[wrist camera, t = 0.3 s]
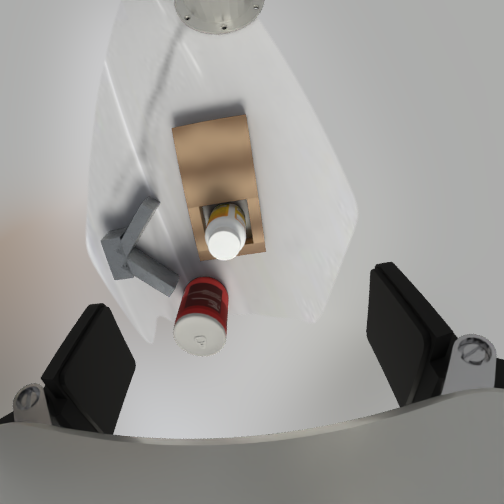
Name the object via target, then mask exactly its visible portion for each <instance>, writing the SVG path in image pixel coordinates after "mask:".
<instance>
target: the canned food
mask: <svg viewBox="0 0 504 504" xmlns="http://www.w3.org/2000/svg"><path fill="white" fill-rule="evenodd" d="M227 315H228V294H227V291H226V289H225V288H224V286H223V285H222V284H221V283H220V282H219V281H217V280H216V279H213V278H210V277H199V278H196V279H194V280H192V281H191V282H190V283H189V284H188V285H187V286H186V288H185V291H184V294H183V297H182V300H181V304H180V307H179V311H178V314H177V317H176V321H175V325H174V331H173V335H174V339H175V341H176V343H177V345H178V346H179V347H180V348H181V349H183V350H184V351H186V352H187V353H189V354H192V355H195V356H202V357H203V356H211V355H214V354H216V353H218V352H219V351H220V350H221V349H222V348H223V347H224V345H225V342H226V334H227Z"/></svg>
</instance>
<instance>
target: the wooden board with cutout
mask: <svg viewBox="0 0 504 504" xmlns="http://www.w3.org/2000/svg"><path fill="white" fill-rule="evenodd" d="M172 133H173V138H174V144H175V149H176V154H177V159H178V164H179V169H180V174H181V179H182V184H183V188H184V193H185V198H186V202H187V207H188V211H189V216H190V220H191V225H192V229H193V233H194V237H195V242H196V246H197V250H198V254H199V258H200V261H204V260H211V259H217V258H215V257H214V256H212V254H211V253H210V252H209V249H208V246H207V244H206V240H205V231H206V223H205V218H204V213H203V208H202V206H206V205H212V204H218V203H224V202H231V201H237V200H244V199H247V203H248V210H249V216H250V222H251V229H252V235H253V237H249V238H246V241H245V244H244V246H243V247H242V249H241V250H240V251H239V253H238V254H237V255H236V256H240V255H247V254H254V253H261V252H266V248H265V241H264V234H263V227H262V220H261V213H260V206H259V199H258V192H257V185H256V178H255V171H254V164H253V158H252V151H251V144H250V138H249V131H248V125H247V118H246V115H239V116H232V117H226V118H220V119H215V120H209V121H204V122H199V123H194V124H189V125H184V126H180V127H175V128H172Z"/></svg>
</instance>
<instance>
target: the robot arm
mask: <svg viewBox="0 0 504 504" xmlns="http://www.w3.org/2000/svg"><path fill="white" fill-rule="evenodd" d="M263 4H264V0H175V8H176V12H177V14H178V16H179V17H180V19H181V20H182V21H183V22H184V23H185V24H186V25H187V26H189V27H190V28H192V29H194V30H196V31H199V32H202V33H207V34H225V33H230V32H234V31H237V30H239V29H241V28H244V27H245V26H247V25H248V24H250V23H251V22H252V21H253V20H254V19H256V18H257V16H258V15H259V13H260V12H261V10H262V7H263ZM254 8H258V9H254ZM188 18H190V19H189V20H187V19H188ZM224 27H225V28H226V29H225V30H223V28H224ZM368 306H369V307H368V319H367V330H366V332H367V338H368V341H369V343H370V345H371V346H372V349H373V351H374V353H375V355H376V357H377V359H378V361H379V363H380V365H381V367H382V369H383V371H384V374H385V376H386V378H387V380H388V382H389V384H390V386H391V388H392V391H393V393H394V395H395V397H396V399H397V401H398V404H399V406H400V408H397V409H393V410H390V411H386V412H383V413H379V414H375V415H371V416H367V417H363V418H358V419H354V420H350V421H346V422H341V423H337V424H332V425H327V426H322V427H316V428H311V429H305V430H298V431H292V432H284V433H277V434H268V435H259V436H248V437H234V438H214V439H165V438H164V439H163V438H162V439H161V438H144V437H143V438H142V437H130V436H120V435H113V433H114V429H115V426H116V423H117V420H118V417H119V414H120V411H121V408H122V405H123V402H124V399H125V396H126V393H127V390H128V387H129V385H130V382H131V379H132V376H133V374H134V371H135V366H136V365H135V360H134V358H133V356H132V354H131V352H130V350H129V348H128V346H127V344H126V342H125V340H124V338H123V336H122V334H121V332H120V330H119V327H118V325H117V323H116V321H115V319H114V317H113V314H112V312H111V310H110V308H109V307H106V305H104V304H103V303H100V304H91V305H89V306H88V307H87V308H86V309H85V311H84V312H83V314H82V315H81V317H80V318H79V319H78V321H77V322H76V324H75V325H74V327H73V328H72V330H71V331H70V333H69V334H68V336H67V337H66V339H65V340H64V342H63V343H62V345H61V346H60V348H59V349H58V351H57V352H56V354H55V356H54V357H53V359H52V360H51V362H50V364H49V365H48V367H47V368H46V370H45V372H44V373H43V375H42V377H41V379H42V381H43V382H44V384H45V387H44V389H43V387H42V386H41V385H40V384H36V383H33V384H29V385H26V386H24V387H23V388H22V389H20V390H19V392H18V393H17V394H16V395H15V398H14V400H13V412H11V413H10V414H8V415H6V416H5V417H3V418H1V419H0V504H504V360H503V359H499V358H496V349H495V348H494V345H493V344H492V343H491V342H490V341H489V340H488V339H486V338H485V337H483V336H480V335H476V334H467V335H463V336H461V337H459V338H457V337H456V335H455V334H454V333H453V331H452V330H451V328H450V327H449V326H448V325H447V324H446V322H445V321H444V320H443V319H442V318H441V316H440V315H439V314H438V313H437V312H436V310H435V309H434V308H433V307H432V306H431V304H430V303H429V302H428V301H427V300H426V299H425V298H424V296H423V295H422V294H421V293H420V292H419V291H418V290H417V289H416V287H415V286H414V285H413V284H412V283H411V282H410V281H409V280H408V278H407V277H406V276H405V275H404V274H403V273H402V272H401V271H400V270H399V269H398V268H397V266H396V265H395V264H394V263H393V262H387V263H382V264H376V266H375V269H372V270H371V272H370V291H369V305H368Z"/></svg>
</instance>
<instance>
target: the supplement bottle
mask: <svg viewBox="0 0 504 504" xmlns="http://www.w3.org/2000/svg"><path fill="white" fill-rule="evenodd" d="M205 240H206V244H207V246H208V249H209V252H210V253H211V254H212V256H214V257H215V258H217V259H219V260H230V259H232V258H234V257H235V256H236V255H237V254H238V253H239V251H240V250H241V249H242V247H243V246H244V244H245V241H246V221H245V215H244V213H243V211H242V210H241V209H240V208H239V207H238V206H236V205H234V204H231V203H224V204H220V205H218V206H217V207H215V208H214V209H213V211H212V213H211V215H210V218H209V221H208V224H207V227H206V231H205Z"/></svg>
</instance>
